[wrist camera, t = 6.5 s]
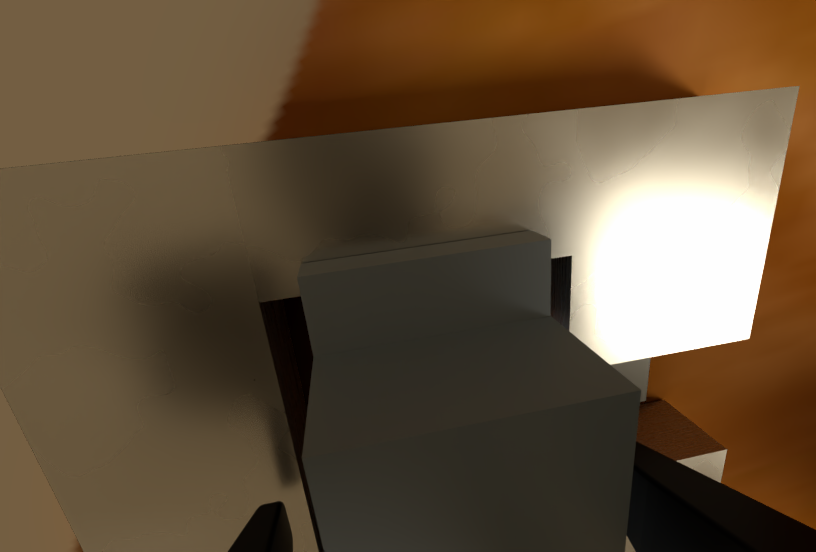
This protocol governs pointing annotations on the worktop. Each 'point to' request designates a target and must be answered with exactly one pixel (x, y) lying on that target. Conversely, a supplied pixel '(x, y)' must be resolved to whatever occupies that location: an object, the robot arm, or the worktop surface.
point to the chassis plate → (337, 238)
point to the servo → (462, 406)
